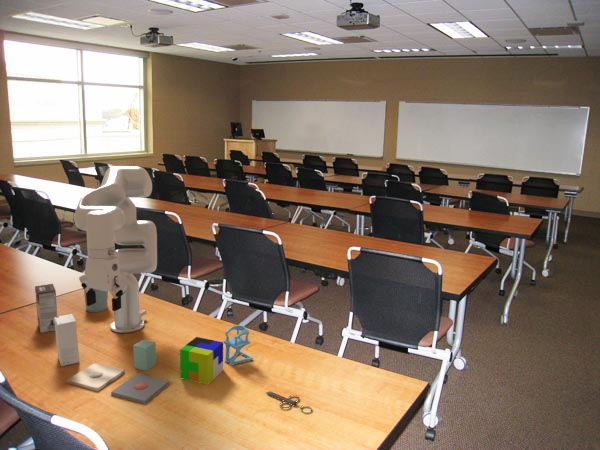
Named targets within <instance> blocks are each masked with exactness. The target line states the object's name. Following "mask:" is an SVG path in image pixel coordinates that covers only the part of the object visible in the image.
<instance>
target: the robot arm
mask: <svg viewBox="0 0 600 450" xmlns="http://www.w3.org/2000/svg"><path fill="white" fill-rule="evenodd" d="M152 182H153V181H152V179H151V177H150V175H149V173H148V171H147V170H146V169H145V168H144V167H142V166H128V165H127V166H125V165H124V166H123V165H122V166H121V165H118V166H117V165H116V166H115V165H114V166H111V167H109V168H108V169H106V170H105V173H104V175H103V178H102V181H101V184H100V187H98V188H96V189H94V190H91V191H89V192H88V193H86V194H84V195H83V196H82V197H81V198H80V199H79V201H78V204H77V206H76V209H75V212H74V218H73V219H74V224H75V226H76V228H77V229H78V230H80V231H85V232H86V245H87V247H86V248H87V256H86V260H85V272H84V274H83V275H81V276H79V277H78V280H79V282H80V286H81V287H82V288H83V292H85V293H86V301H87V306H90V305H92V304H95V303H96V292H95V291H93V290H94V289H97V290H102V291H108V293H109V294H110V295H111V296H112V298H111V309H112V311H113V316H114V317H113V318H114V319H113V322H112V323H110V325H109V327H110V330H111V331H113V332H115V333H120V334H122V333H124V334H126V333H127V334H128V333H133V332H137V331H139V330H141V329H143V327H145V322H144V320H143V319H142V317H143V316H145V315H147V313H148V312H147V310H145V309H142V310H141V311H140V285H139V281H138V280H137V278H136V277H135V275H134V274H151V273H154V272H155V271H156V270H157V267H158V233H157V226H156V224H155V223H154V221H152V220H137V207H136V205H135V203H134V202H133V201H132V199H130V198H139V199H141V198H148V197H150V196H151V194H152V192H153V183H152ZM115 244H116V245H121V246H143V247H144V248H120V249H119V248H118V249H116V246H115Z"/></svg>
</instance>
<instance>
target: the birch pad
mask: <svg viewBox="0 0 600 450" xmlns="http://www.w3.org/2000/svg"><path fill="white" fill-rule="evenodd" d="M125 372H126V371H125V369H122V368H118V367H114V366H109V365H105V364H101V363H97V362H94V363H93V364H91V365H88V366H87V367H86V368H84V369H82V370H80V371H79V372H77V373H76V374H74V375H73V376H71V377H69V378H68V379H66V384H69V385H73V386H77V387H80V388H84V389H89V390H92V391H94V392H95V391H96V392H99V391H100V390H102V389H103V388H105V387H106V386H108V385H109V384H111V383H112V382H114V381H115V380H117V379H118V378H119V377H121V376H122V375H124V374H125Z"/></svg>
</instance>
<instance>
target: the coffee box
mask: <svg viewBox="0 0 600 450" xmlns="http://www.w3.org/2000/svg"><path fill="white" fill-rule="evenodd" d="M56 291H57V290H56V288H55V286H54V283H49V284H48V283H47V284H42V285H36V286H34V292H35V303H36V304H35V305H36V313H37V314H36V317H37V325H38V328H39V331H40V334H42V333H47V332H52V331H53V332H54V331H55V322H54V317H58V307H57V306H58V305H57V292H56Z"/></svg>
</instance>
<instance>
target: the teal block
mask: <svg viewBox="0 0 600 450" xmlns="http://www.w3.org/2000/svg"><path fill="white" fill-rule="evenodd" d="M156 347H157V344H156V341H153V340H147V339H141V340H139V341H138V342H136V343H135V344H133V347H132V349H133V368H134V369H138V370H141V371H148V370H150V369H152V368H153V367H154V366H155V365H157V353H156V352H157V348H156Z"/></svg>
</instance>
